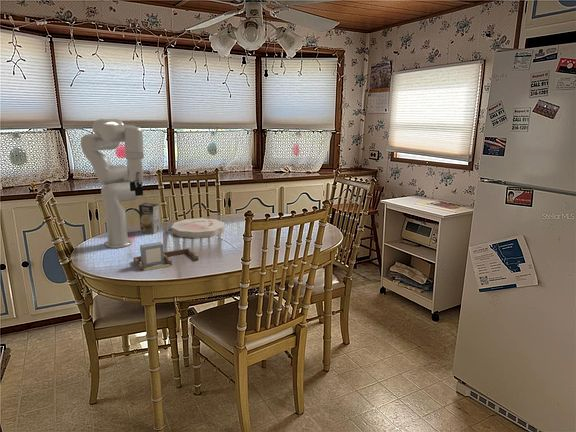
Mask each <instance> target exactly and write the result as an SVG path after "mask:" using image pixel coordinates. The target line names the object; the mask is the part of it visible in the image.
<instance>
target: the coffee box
mask: <svg viewBox="0 0 576 432" xmlns="http://www.w3.org/2000/svg"><path fill="white" fill-rule="evenodd" d="M138 211H139V213H138V215H139V225H140V231H139V232H140V233H142V234H143V233H144V234H150V233H151V235H155V234H157V233H160V231H161V229H160V207H159V204H158V203H149V202H143V203H141V204H139V205H138Z"/></svg>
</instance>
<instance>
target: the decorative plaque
mask: <svg viewBox="0 0 576 432" xmlns="http://www.w3.org/2000/svg"><path fill="white" fill-rule="evenodd" d="M225 226H226V225H225V222H224V221H221V220H218V219H215V218H214V219H213V218H203V217H201V218H192V219H191V218H186V219H183V220H179V221H176V222H173V224H172V225H171V226H170V227H171V228H170V229H171V234H173V235H176V236H177V237H181V238H190V239H191V238H193V239H200V238H213V237H216V236H218V235H221V234H224V233H225Z"/></svg>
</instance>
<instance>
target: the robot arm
mask: <svg viewBox="0 0 576 432" xmlns="http://www.w3.org/2000/svg"><path fill="white" fill-rule="evenodd" d="M91 128H92V132H93V133H88V134H84V135H83V136H82V137H81V138H80V146H81V151H82V153H83V154H84V156H85V158H86V159H87V161H89V163H90V165H91V166H92V169H93V171H94V173H95V175H96V177H97V180H98V181H99V183H100V184H101V185H103V186H102V187H101V190H100V194H101V198H102V201H103V206H104V211H105V214H104V215H105V223H106V234H107V241H105V243H104V245H105V247H106V248H110V249H117V248H118V249H120V248H125V247H128V246H130V245H132V240H131V239H129V235H128V233H129V232H128V224H127V223H128V222H127V211H126V208H125V207H124V206H123V205H122V204H121V203H122V202H123V203H124V202H128V201H134V200H137V198H138V197H139V196H144V190H143V189H144V186H143V181H144V173H143V171H144V170H143V160H144V137H143V136H144V134H143V128H142V127H139V126H136V125H134V124H125V123H123V121H122V120H120V119H117V118H108V119H107V118H105V119H104V118H100V119H97V120H95V121H93V123H92V126H91ZM120 143H124V155H125V160H126V165H123V164H117V165H115V164H114V165H113V164H111V161H110V159H109V157H107V155H105V154H104V153H102V151H112V150H116V149H118V147H119V146H120Z"/></svg>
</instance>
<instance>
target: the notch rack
mask: <svg viewBox="0 0 576 432" xmlns="http://www.w3.org/2000/svg"><path fill="white" fill-rule="evenodd" d="M163 253H164V262H166V263H167V264H166V263H165V264H159V265H156V266H155V265H154V266H151V267H150V266H148V267H146V268H145V267H143V265H142V264H141V255H140V256H134V257H133V262H134V264H135V265H136V266H137V268H138V269H139V270H140V271H141V272H142V271H143V272H145V271H151V270H152V271H153V270H157V269H163V268H167V267H171V266H172V265H173V263H172V259H170V258H169V257H172V256H177V255H184V254H188V255H190V256H191V257H192V258H193V259H194V260H195V261H199V259H200V258H199V255H197V254H196V253H195V251H194V252H193V251H192V250H191V248H182V249H176V250H170V251H163Z"/></svg>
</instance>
